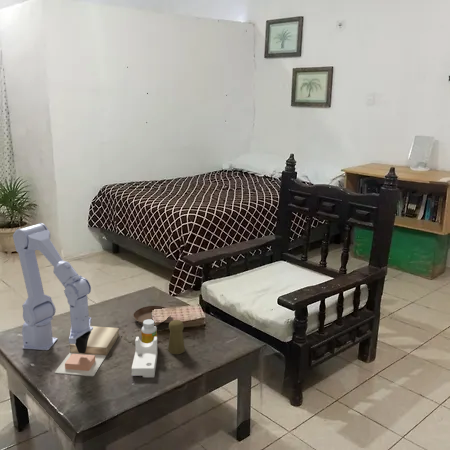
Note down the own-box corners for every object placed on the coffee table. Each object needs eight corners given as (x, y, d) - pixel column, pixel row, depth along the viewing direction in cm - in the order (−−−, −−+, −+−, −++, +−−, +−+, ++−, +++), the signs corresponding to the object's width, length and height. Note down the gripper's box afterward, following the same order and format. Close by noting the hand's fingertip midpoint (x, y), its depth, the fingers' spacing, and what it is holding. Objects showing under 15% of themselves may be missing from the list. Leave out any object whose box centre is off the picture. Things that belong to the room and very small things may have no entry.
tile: (72, 353, 166) (72, 358, 166) (64, 363, 160) (65, 368, 161) (95, 355, 165) (95, 360, 166) (88, 365, 159) (88, 370, 160)
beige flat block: (70, 352, 171) (69, 345, 170) (85, 332, 184) (84, 325, 183) (106, 355, 169) (106, 347, 169) (119, 335, 183) (118, 328, 182)
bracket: (136, 356, 170) (136, 336, 168) (157, 356, 170) (157, 336, 168) (131, 378, 158) (131, 357, 155) (154, 378, 158) (153, 357, 156)
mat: (54, 373, 159) (54, 372, 159) (69, 353, 170) (69, 352, 170) (93, 376, 158) (93, 375, 157) (106, 356, 169) (106, 355, 169)
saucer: (140, 332, 186) (139, 325, 185) (128, 315, 198) (128, 309, 198) (176, 324, 192) (176, 317, 192) (163, 308, 205) (163, 302, 204)
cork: (164, 349, 174) (163, 321, 171) (177, 343, 178) (176, 316, 175) (175, 356, 170) (175, 327, 167) (188, 349, 174) (188, 321, 171)
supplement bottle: (154, 351, 173) (153, 326, 170) (139, 349, 174) (138, 324, 171) (159, 343, 178) (158, 319, 175) (144, 341, 179) (144, 317, 176)
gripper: (82, 326, 153) (85, 364, 157) (99, 306, 167) (101, 341, 171) (61, 325, 154) (64, 363, 158) (79, 304, 168) (81, 340, 171)
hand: (82, 352), depth 164 cm, fingers closed
